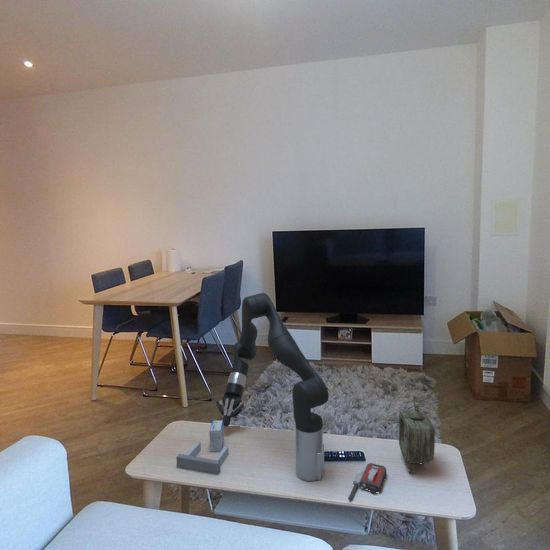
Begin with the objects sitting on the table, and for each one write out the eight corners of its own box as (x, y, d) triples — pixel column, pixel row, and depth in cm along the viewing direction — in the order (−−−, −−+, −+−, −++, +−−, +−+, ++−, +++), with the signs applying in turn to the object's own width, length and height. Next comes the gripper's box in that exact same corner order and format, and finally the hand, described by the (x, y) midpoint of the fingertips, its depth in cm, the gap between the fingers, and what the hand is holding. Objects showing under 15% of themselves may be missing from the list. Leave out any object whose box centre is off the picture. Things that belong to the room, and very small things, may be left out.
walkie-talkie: (362, 467, 145) (346, 502, 127) (362, 455, 144) (346, 489, 127) (387, 473, 141) (374, 510, 123) (388, 461, 141) (374, 497, 123)
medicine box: (221, 451, 155) (221, 430, 154) (210, 452, 155) (209, 430, 154) (224, 440, 163) (223, 420, 162) (213, 440, 163) (212, 420, 162)
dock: (232, 454, 153) (231, 444, 153) (218, 474, 141) (217, 464, 141) (193, 448, 158) (193, 438, 157) (176, 467, 146) (176, 456, 145)
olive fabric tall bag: (398, 452, 153) (399, 388, 150) (423, 453, 152) (425, 389, 149) (406, 476, 139) (408, 406, 135) (434, 477, 138) (437, 407, 134)
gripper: (218, 380, 175) (206, 420, 165) (247, 383, 171) (237, 425, 161) (224, 387, 181) (213, 426, 171) (252, 390, 177) (242, 431, 167)
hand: (225, 426), depth 166 cm, fingers closed
